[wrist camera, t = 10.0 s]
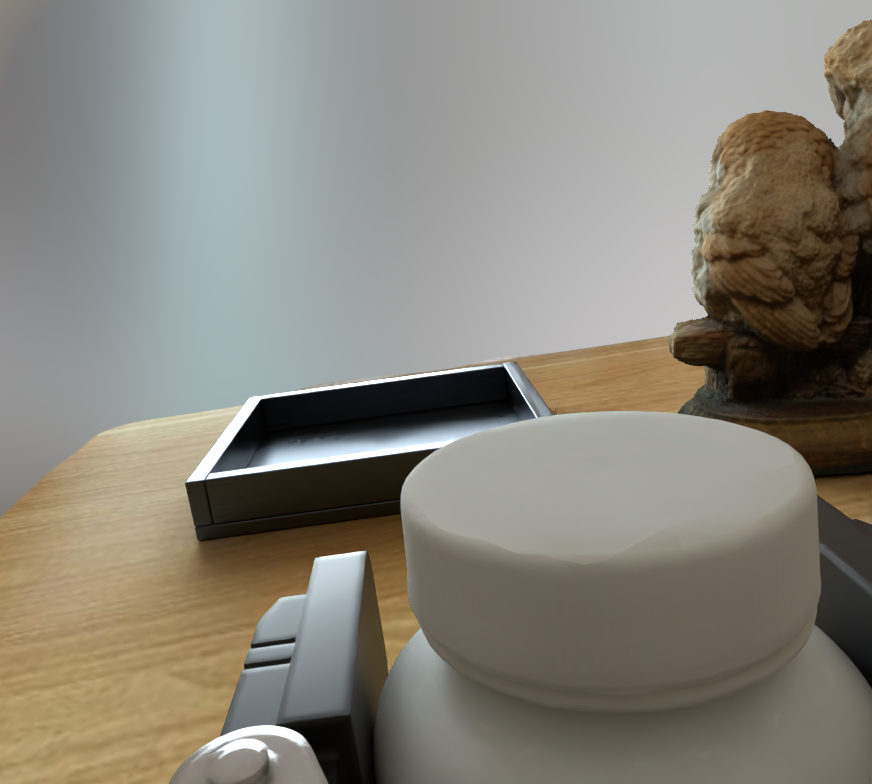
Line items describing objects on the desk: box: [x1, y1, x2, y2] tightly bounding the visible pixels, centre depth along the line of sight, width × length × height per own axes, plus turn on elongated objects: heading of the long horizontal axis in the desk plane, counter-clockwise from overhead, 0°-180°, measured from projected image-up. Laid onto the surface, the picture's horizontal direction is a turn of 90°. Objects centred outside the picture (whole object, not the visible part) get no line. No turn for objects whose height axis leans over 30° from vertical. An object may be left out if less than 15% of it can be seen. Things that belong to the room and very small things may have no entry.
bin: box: [185, 362, 553, 540], centre depth 38 cm, size 16×14×3 cm
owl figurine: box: [669, 20, 872, 476], centre depth 33 cm, size 18×12×17 cm, turn 112°
